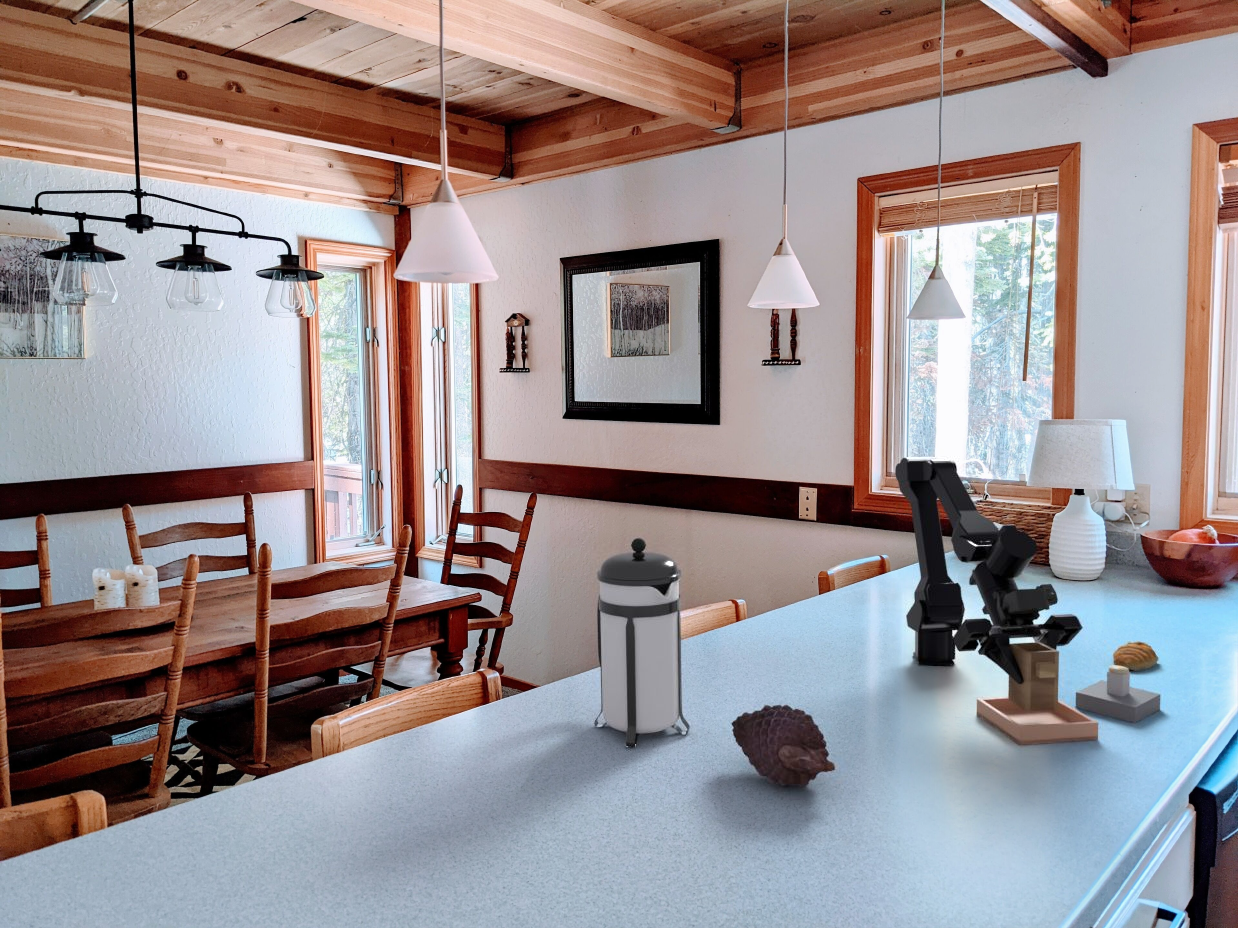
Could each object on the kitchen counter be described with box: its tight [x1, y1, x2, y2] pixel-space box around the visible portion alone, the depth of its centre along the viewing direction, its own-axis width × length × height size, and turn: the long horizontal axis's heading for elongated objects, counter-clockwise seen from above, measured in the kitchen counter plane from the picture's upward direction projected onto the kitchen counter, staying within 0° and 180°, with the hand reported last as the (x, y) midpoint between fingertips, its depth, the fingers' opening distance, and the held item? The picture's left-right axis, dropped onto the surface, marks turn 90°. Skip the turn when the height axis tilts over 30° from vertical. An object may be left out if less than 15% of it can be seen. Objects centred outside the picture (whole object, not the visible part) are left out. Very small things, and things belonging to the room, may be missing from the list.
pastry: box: [1112, 641, 1160, 672], centre depth 164 cm, size 9×7×4 cm
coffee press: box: [593, 537, 691, 748], centre depth 137 cm, size 17×16×30 cm
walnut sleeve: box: [1007, 641, 1060, 712], centre depth 135 cm, size 6×5×9 cm
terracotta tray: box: [976, 696, 1099, 746], centre depth 136 cm, size 12×12×3 cm
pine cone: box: [731, 704, 836, 787], centre depth 119 cm, size 18×10×10 cm, turn 34°
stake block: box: [1075, 664, 1161, 724], centre depth 142 cm, size 9×9×7 cm
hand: (1038, 681), depth 134 cm, fingers closed on walnut sleeve, 5 cm apart
